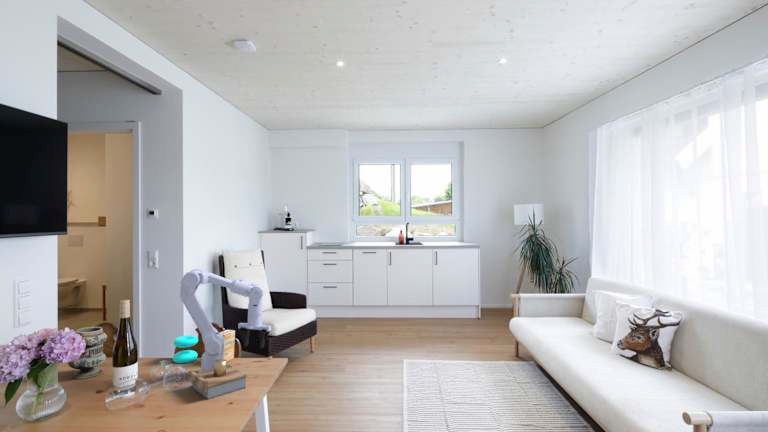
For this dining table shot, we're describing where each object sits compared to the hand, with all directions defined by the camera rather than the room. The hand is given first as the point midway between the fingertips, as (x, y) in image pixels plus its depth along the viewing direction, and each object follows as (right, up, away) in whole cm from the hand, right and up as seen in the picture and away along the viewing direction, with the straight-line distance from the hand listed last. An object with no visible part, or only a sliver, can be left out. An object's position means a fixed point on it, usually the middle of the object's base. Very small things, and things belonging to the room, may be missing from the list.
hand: (253, 346), depth 160 cm
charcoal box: (-7, -10, -17) cm, 21 cm away
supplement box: (-17, -11, +11) cm, 23 cm away
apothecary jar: (-64, -9, -8) cm, 66 cm away
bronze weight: (-7, -5, -17) cm, 19 cm away
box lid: (-8, -7, -17) cm, 20 cm away
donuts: (-35, -10, +11) cm, 38 cm away
